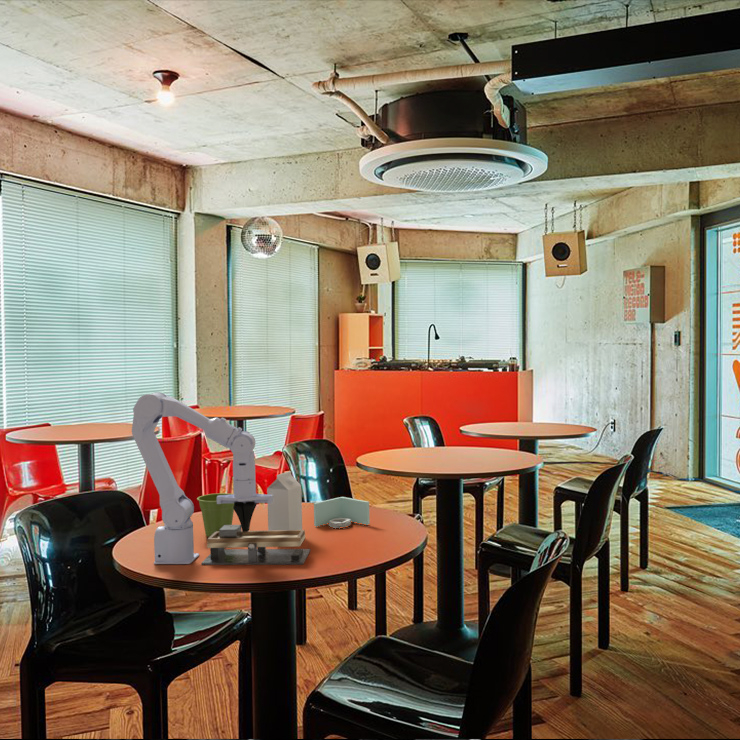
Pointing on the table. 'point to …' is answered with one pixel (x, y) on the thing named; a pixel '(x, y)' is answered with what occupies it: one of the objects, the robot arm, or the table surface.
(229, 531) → the block
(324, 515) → the right angle wall
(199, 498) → the plant pot
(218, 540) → the beam
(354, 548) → the table surface
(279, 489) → the milk carton
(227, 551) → the beam stand
